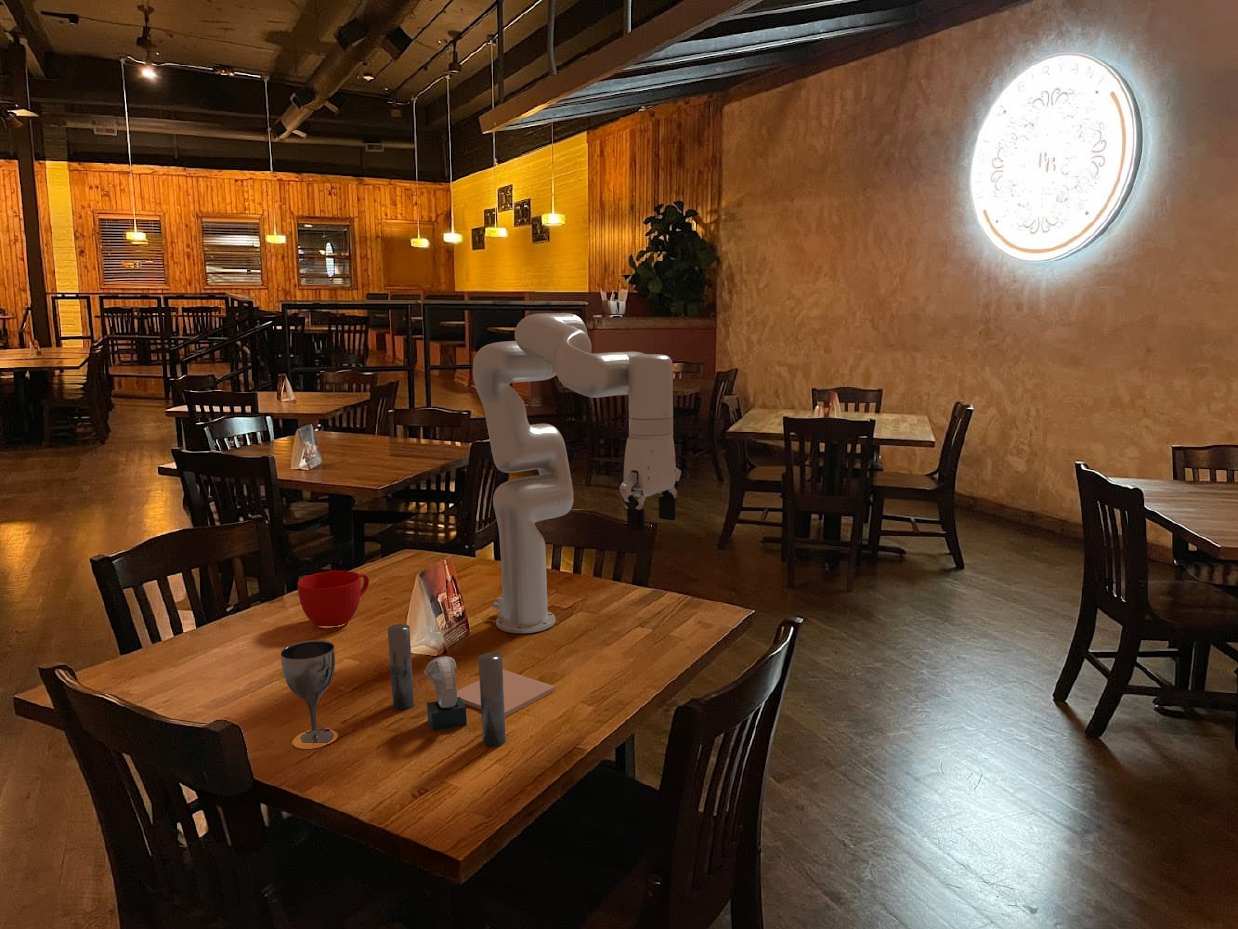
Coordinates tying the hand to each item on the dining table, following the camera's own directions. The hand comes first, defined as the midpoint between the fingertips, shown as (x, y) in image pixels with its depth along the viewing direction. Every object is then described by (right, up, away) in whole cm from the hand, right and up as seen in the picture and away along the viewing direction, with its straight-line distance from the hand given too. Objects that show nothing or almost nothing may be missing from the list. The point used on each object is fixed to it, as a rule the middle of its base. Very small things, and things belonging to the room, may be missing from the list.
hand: (652, 525), depth 154 cm
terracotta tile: (-26, -30, +2) cm, 40 cm away
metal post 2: (-25, -33, -15) cm, 44 cm away
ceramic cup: (-67, -24, +40) cm, 82 cm away
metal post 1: (-43, -31, -2) cm, 53 cm away
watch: (-34, -32, -8) cm, 48 cm away
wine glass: (-54, -33, -13) cm, 65 cm away
